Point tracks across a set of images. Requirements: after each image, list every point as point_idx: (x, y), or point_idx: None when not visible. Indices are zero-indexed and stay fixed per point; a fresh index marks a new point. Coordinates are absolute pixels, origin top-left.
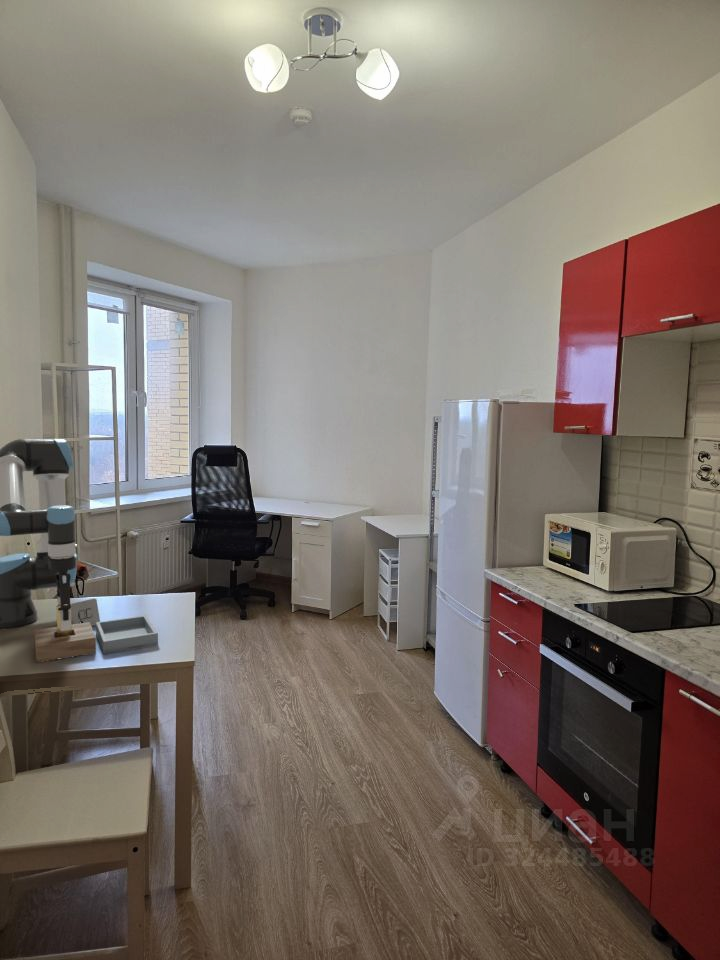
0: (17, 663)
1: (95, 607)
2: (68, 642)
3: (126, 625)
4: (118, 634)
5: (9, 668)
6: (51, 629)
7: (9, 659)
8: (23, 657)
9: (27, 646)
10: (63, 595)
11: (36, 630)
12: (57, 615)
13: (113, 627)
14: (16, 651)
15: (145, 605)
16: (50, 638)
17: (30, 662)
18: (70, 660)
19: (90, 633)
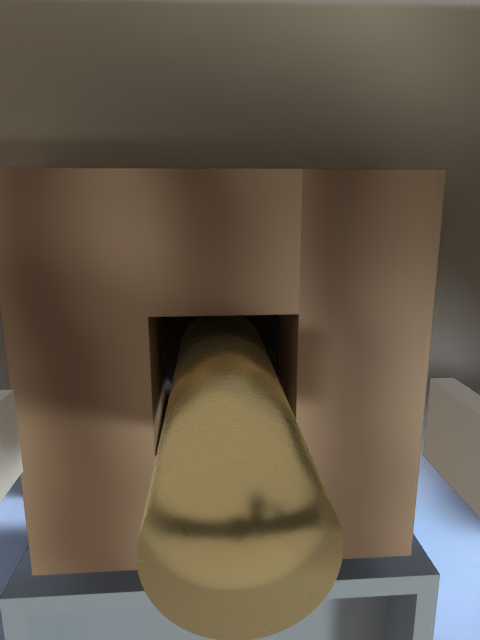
0: (83, 58)
1: None
2: (16, 402)
3: None
4: (282, 633)
5: (5, 3)
6: (381, 298)
7: (187, 6)
8: (185, 100)
9: (394, 131)
10: None
11: (419, 184)
12: (201, 409)
13: (392, 626)
14: (329, 57)
15: None
16: (148, 283)
17: (68, 141)
18: (6, 369)
19: None
